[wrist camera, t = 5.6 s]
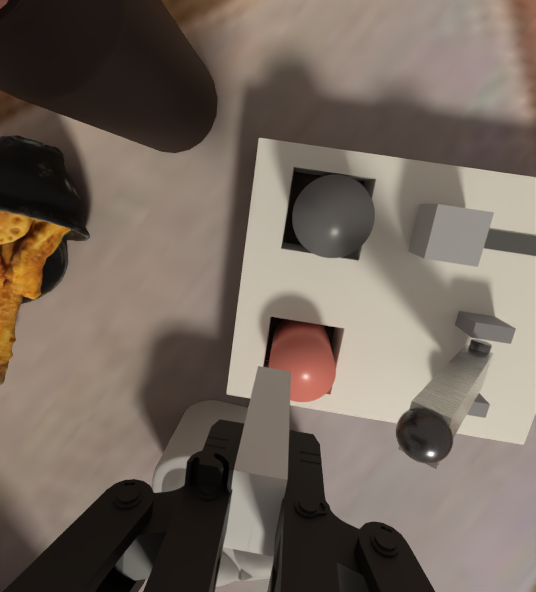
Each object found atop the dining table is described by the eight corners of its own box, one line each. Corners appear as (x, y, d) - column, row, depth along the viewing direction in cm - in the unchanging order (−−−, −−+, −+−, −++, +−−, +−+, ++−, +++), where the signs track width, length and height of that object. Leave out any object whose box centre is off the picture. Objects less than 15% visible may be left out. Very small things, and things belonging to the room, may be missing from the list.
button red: (269, 361, 30) (263, 396, 24) (277, 310, 28) (273, 335, 23) (323, 370, 29) (329, 407, 24) (333, 319, 28) (341, 346, 23)
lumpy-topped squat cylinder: (191, 388, 32) (154, 455, 24) (331, 434, 32) (343, 517, 24) (163, 481, 35) (121, 570, 26) (292, 523, 35) (291, 625, 26)
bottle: (135, 38, 25) (-383, -485, 6) (228, 64, 25) (10, -377, 6) (119, 140, 27) (-317, -13, 8) (207, 164, 27) (-14, 73, 8)
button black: (288, 241, 26) (286, 251, 20) (298, 175, 24) (299, 169, 19) (350, 250, 25) (365, 263, 20) (364, 185, 24) (383, 181, 19)
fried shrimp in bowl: (97, 136, 23) (47, 428, 22) (107, 187, 33) (73, 387, 32) (-90, 84, 19) (-160, 424, 18) (-15, 159, 30) (-57, 380, 29)
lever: (451, 378, 25) (380, 464, 15) (464, 335, 24) (397, 398, 15) (487, 391, 24) (433, 495, 14) (502, 346, 23) (456, 424, 13)
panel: (234, 370, 31) (219, 412, 25) (264, 147, 26) (254, 130, 20) (494, 413, 30) (545, 468, 24) (572, 191, 26) (659, 188, 19)
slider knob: (408, 251, 23) (424, 258, 20) (420, 203, 23) (438, 204, 20) (455, 258, 23) (478, 266, 20) (468, 210, 22) (494, 212, 20)
